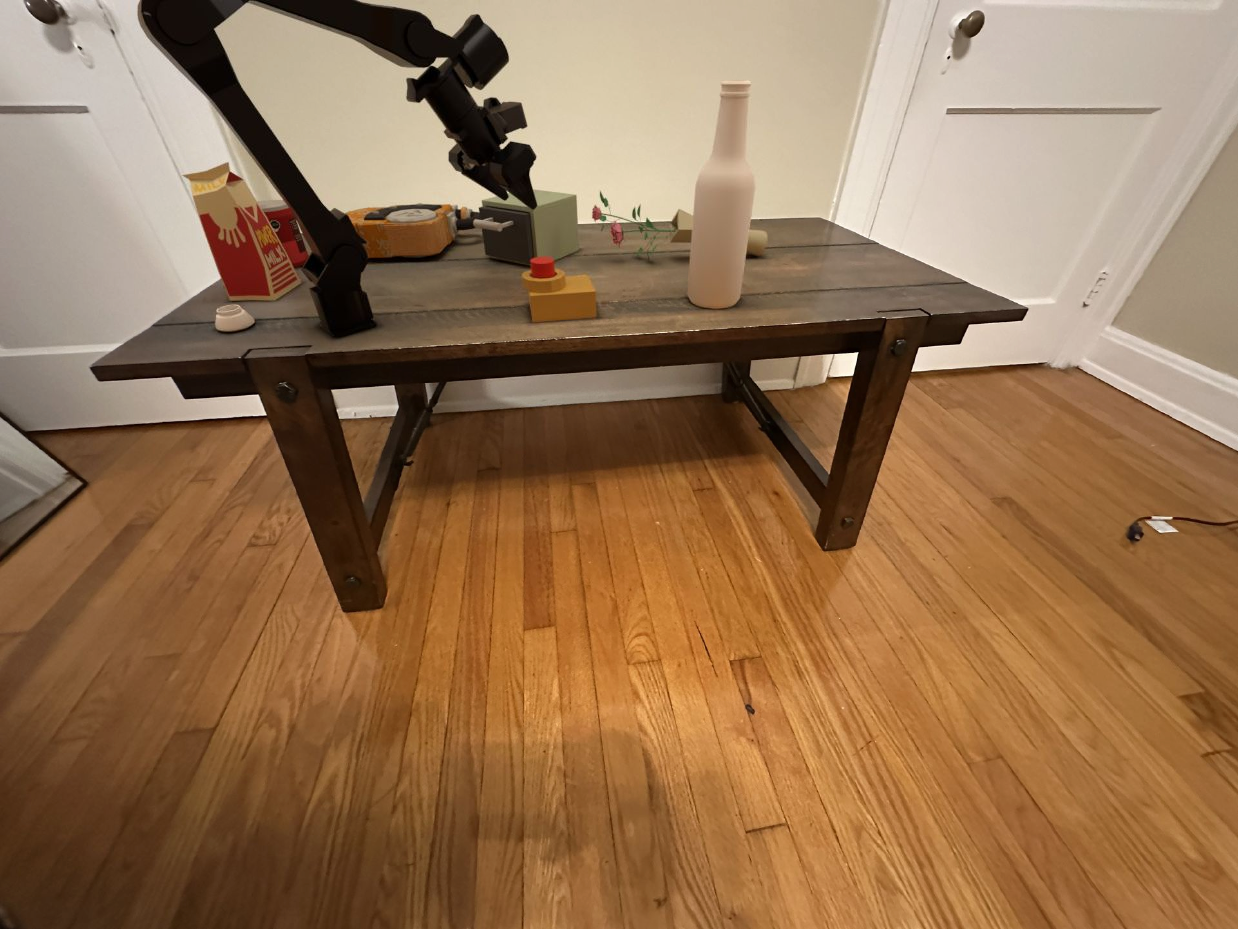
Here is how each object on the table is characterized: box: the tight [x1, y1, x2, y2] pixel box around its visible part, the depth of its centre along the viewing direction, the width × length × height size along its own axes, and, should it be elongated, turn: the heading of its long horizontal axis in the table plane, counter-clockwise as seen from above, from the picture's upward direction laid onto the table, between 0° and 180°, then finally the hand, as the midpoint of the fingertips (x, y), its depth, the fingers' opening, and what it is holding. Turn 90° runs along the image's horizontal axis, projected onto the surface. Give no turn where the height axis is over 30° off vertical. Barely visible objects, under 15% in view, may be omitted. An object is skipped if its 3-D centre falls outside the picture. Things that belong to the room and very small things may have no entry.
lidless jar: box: [214, 304, 255, 333], centre depth 80 cm, size 5×3×5 cm
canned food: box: [257, 199, 309, 269], centre depth 103 cm, size 8×8×11 cm
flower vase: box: [591, 190, 768, 262], centre depth 106 cm, size 12×12×35 cm
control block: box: [521, 268, 598, 323], centre depth 84 cm, size 11×8×6 cm
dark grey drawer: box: [473, 206, 534, 264], centre depth 105 cm, size 17×12×9 cm
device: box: [344, 202, 480, 259], centre depth 113 cm, size 23×8×30 cm
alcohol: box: [686, 79, 756, 310], centre depth 80 cm, size 9×9×30 cm
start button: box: [530, 257, 555, 279], centre depth 81 cm, size 4×4×2 cm
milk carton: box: [181, 161, 302, 302], centre depth 87 cm, size 9×9×20 cm
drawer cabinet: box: [481, 188, 580, 267], centre depth 108 cm, size 14×13×11 cm
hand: (520, 203), depth 89 cm, fingers open, 9 cm apart
